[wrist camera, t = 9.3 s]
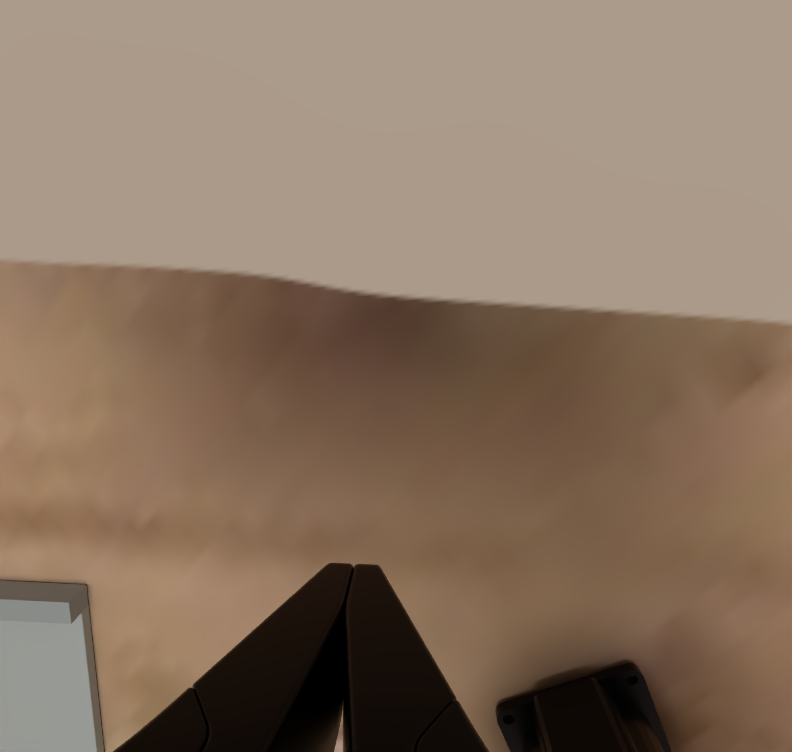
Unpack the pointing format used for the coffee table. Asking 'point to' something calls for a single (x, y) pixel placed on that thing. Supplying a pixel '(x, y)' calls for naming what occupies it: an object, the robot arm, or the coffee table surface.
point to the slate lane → (47, 669)
